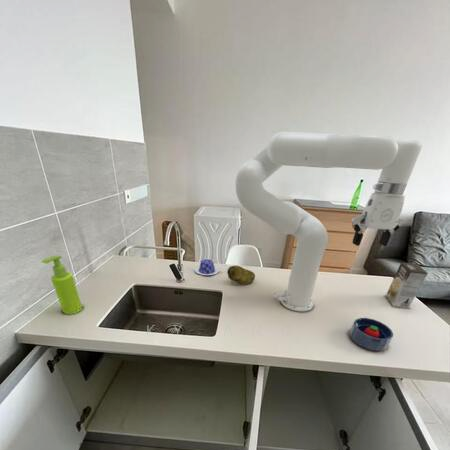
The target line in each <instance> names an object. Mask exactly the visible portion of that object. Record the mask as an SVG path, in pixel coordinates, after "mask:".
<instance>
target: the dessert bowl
mask: <svg viewBox="0 0 450 450" xmlns="http://www.w3.org/2000/svg"><path fill="white" fill-rule="evenodd" d="M370 326H376V327H377V328H378V331H379V337H378V338H374V337H371V336H369V335H366V334H365V333H364V330H365V329H366V328H368V327H370ZM349 337H350V338H351V340H352V341H353V342H354V343H355V344H357V345H358V346H360V347H362V348H363V349H367V350H370V351H375V352H377V351H378V352H379V351H384V350H386V349H387V348H388V347H389V345H390V343H391V341H392V339H393V337H394V333H393V330H392V329H391V328H390V327H389V326H388V325H386V324H385V323H383V322H381V321H379V320H376V319H375V318H369V317H359V318H356V319H355V320H354V321H353V323H352V325H351V328H350V330H349Z"/></svg>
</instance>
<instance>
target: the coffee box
mask: <svg viewBox="0 0 450 450" xmlns="http://www.w3.org/2000/svg"><path fill="white" fill-rule="evenodd" d="M428 274H429V272H427V271H426V270H425V269H424V268H423V267H422V266H421V265H420V264H418V263H411V262H402V261H401V262H400V263H399V266H398V268H397V271H396V273H395V275H394V277H393V279H392V281H391V284H390V286H389V288H388V290H387V292H386V294H385V297H386V298H387V300H388V301H389V303H390V304H391V306H392V307H395V308H402V309H409V308H410V306H411V305H412V303H413V301H414V299H415V297H416V296H417V294H418V292H419V290H420V289H421V287H422V285H423V283H424V282H425V280H426V277H427V275H428Z"/></svg>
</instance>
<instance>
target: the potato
mask: <svg viewBox="0 0 450 450" xmlns="http://www.w3.org/2000/svg"><path fill="white" fill-rule="evenodd" d="M226 273H227V277H228V279H230V281H232V282H234V283H238V284H240V285H248V284H250V283H252V282H253V281H254V280H255V278H256V274H255V272H254V271H251V270H249V269H246V268H243V267H242V266H240V265H232V266H229V267H228V268H227V271H226Z"/></svg>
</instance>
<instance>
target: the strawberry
mask: <svg viewBox="0 0 450 450" xmlns="http://www.w3.org/2000/svg"><path fill="white" fill-rule="evenodd" d="M364 333H365V334H366V335H369V336H371V337H374V338H378V337H379V331H378V328H377V327H376V326H370V327H368V328H366V329H365V330H364Z"/></svg>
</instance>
